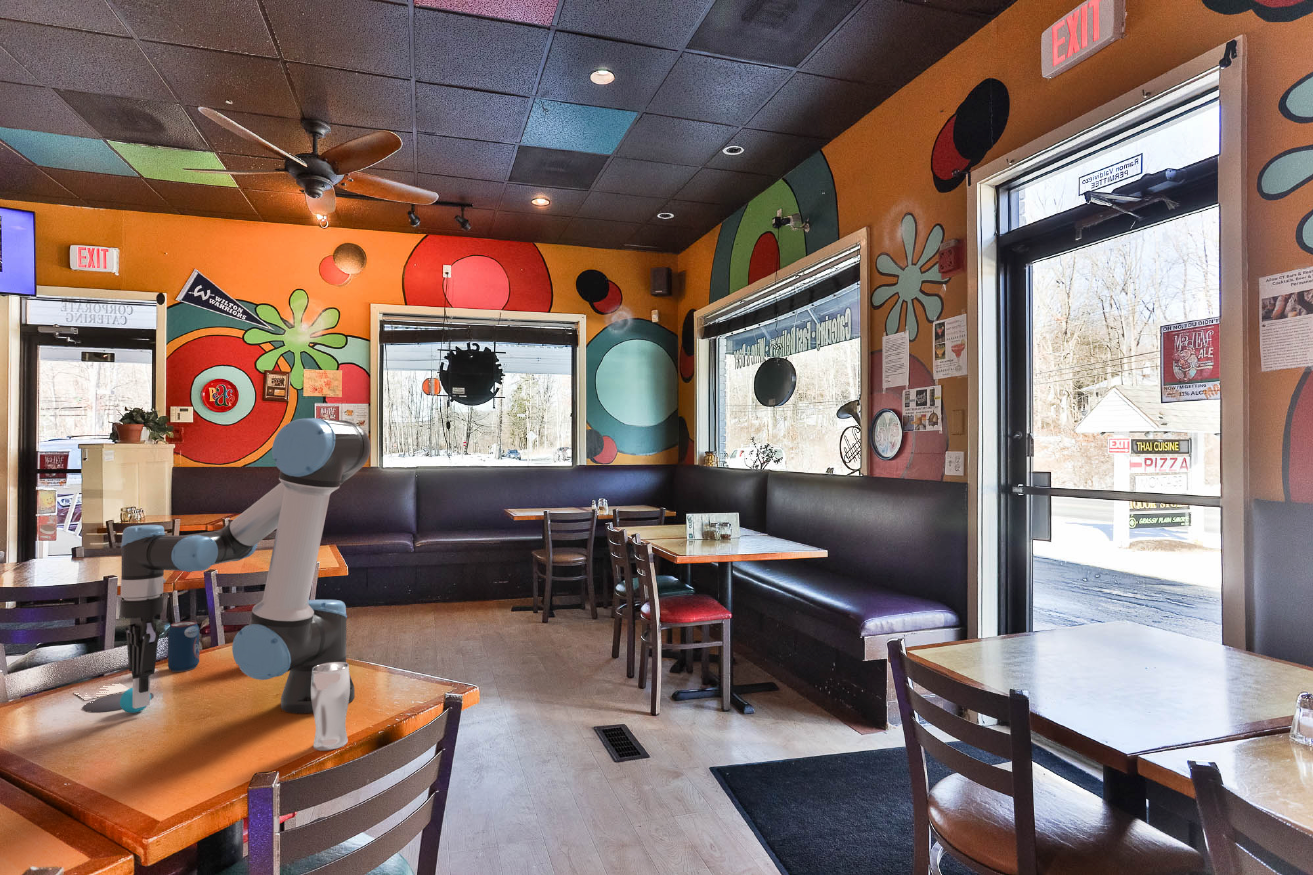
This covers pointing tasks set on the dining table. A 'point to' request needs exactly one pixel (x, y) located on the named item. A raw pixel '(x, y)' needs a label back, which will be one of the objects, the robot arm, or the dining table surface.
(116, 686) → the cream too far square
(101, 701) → the grey flat disc
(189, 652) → the soda can
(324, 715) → the beer glass
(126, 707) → the ball
